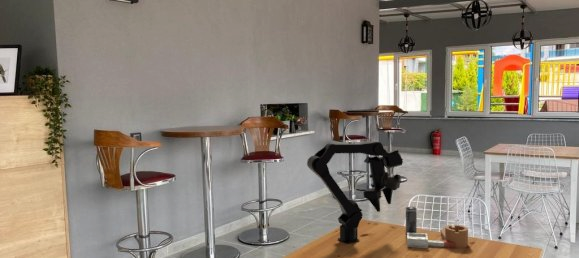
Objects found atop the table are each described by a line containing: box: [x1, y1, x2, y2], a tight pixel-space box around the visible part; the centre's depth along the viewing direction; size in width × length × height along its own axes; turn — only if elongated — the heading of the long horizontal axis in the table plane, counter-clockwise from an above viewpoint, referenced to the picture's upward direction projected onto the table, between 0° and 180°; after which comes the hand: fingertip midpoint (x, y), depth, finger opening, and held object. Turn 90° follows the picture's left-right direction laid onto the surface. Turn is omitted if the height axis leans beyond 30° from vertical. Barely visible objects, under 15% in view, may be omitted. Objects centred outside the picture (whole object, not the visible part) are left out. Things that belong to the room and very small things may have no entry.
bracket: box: [440, 224, 469, 249], centre depth 181 cm, size 18×8×7 cm, turn 171°
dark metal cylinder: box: [405, 206, 418, 235], centre depth 190 cm, size 4×4×11 cm
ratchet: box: [406, 232, 456, 249], centre depth 176 cm, size 8×18×3 cm, turn 76°
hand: (384, 207), depth 187 cm, fingers open, 9 cm apart
